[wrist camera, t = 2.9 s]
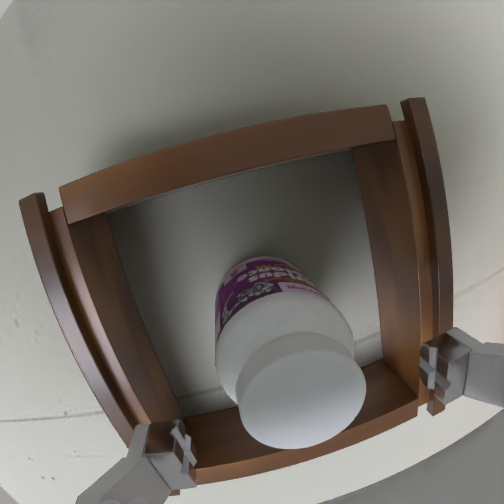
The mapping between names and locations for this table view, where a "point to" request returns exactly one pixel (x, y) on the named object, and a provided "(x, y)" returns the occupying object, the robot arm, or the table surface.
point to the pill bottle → (285, 355)
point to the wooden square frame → (226, 165)
